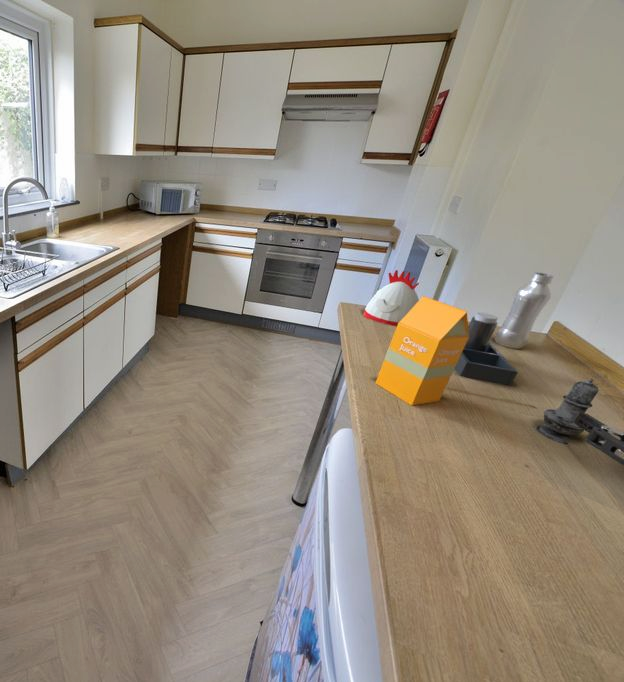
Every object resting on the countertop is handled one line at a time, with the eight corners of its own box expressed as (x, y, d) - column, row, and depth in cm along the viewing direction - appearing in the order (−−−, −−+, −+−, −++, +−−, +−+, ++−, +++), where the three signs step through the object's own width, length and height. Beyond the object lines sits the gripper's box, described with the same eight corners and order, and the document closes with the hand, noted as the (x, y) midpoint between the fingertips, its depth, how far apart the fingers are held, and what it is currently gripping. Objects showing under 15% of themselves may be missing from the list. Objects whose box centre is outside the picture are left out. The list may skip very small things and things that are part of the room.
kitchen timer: (376, 308, 134) (392, 263, 127) (423, 322, 124) (443, 274, 117) (355, 315, 127) (370, 268, 120) (403, 331, 117) (423, 281, 110)
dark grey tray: (482, 356, 104) (489, 341, 103) (509, 388, 90) (518, 372, 88) (440, 348, 108) (446, 334, 106) (459, 377, 93) (466, 362, 91)
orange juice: (411, 405, 82) (451, 312, 73) (374, 383, 89) (407, 296, 81) (440, 401, 84) (482, 310, 75) (401, 379, 91) (436, 294, 83)
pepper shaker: (475, 355, 103) (496, 314, 98) (482, 363, 99) (503, 321, 94) (453, 351, 105) (471, 310, 100) (458, 358, 101) (478, 317, 96)
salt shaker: (576, 449, 71) (616, 391, 66) (531, 432, 75) (566, 376, 70) (580, 436, 75) (618, 380, 70) (536, 421, 79) (570, 366, 74)
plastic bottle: (500, 349, 108) (537, 276, 100) (486, 339, 114) (520, 269, 106) (528, 353, 107) (569, 279, 98) (512, 342, 113) (549, 272, 104)
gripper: (655, 510, 55) (549, 433, 69) (770, 521, 54) (638, 441, 69) (692, 467, 52) (572, 396, 66) (815, 478, 51) (666, 404, 65)
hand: (606, 419), depth 67 cm, fingers open, 8 cm apart
